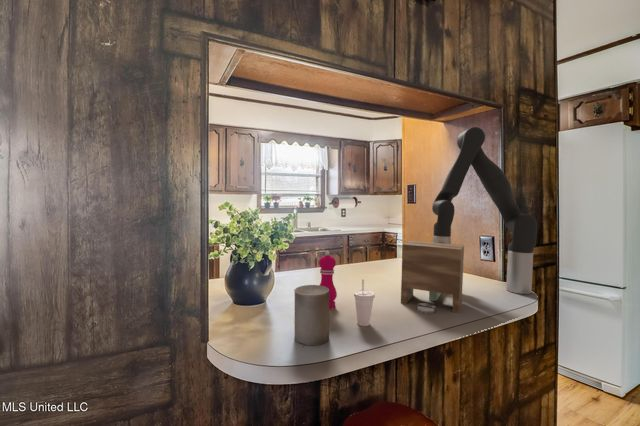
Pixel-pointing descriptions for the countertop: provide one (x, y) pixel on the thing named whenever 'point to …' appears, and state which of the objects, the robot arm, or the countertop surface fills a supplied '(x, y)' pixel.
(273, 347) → the countertop surface
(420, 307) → the steel puck
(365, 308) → the smoothie
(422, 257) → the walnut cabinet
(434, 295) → the sage stick
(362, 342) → the countertop surface
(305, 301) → the pillar candle
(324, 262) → the pepper mill
